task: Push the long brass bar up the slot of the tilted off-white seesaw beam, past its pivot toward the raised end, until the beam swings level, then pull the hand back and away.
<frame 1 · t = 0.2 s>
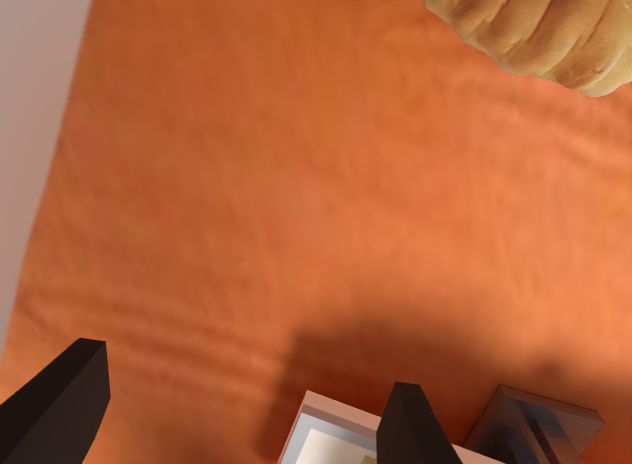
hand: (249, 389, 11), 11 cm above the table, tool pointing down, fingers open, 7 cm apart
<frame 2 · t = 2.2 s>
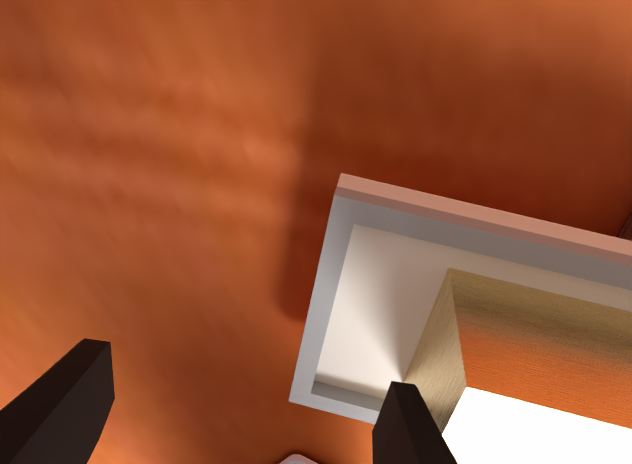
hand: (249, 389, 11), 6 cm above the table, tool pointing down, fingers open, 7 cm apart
brass bar: (542, 360, 14), point 4 cm above the table, tilted 9°, touching beam, gripper
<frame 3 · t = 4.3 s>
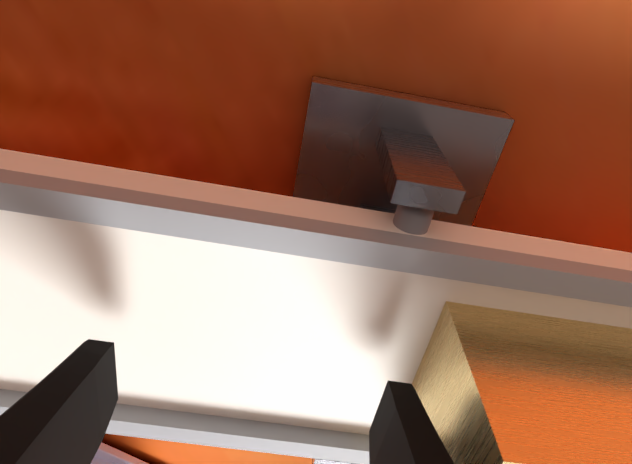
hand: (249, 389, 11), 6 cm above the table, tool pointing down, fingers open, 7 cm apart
beam: (371, 352, 13), point 4 cm above the table, hinge at 0.4°, touching brass bar
brass bar: (541, 383, 14), point 4 cm above the table, touching beam, gripper
beam stand: (362, 267, 17), on the table
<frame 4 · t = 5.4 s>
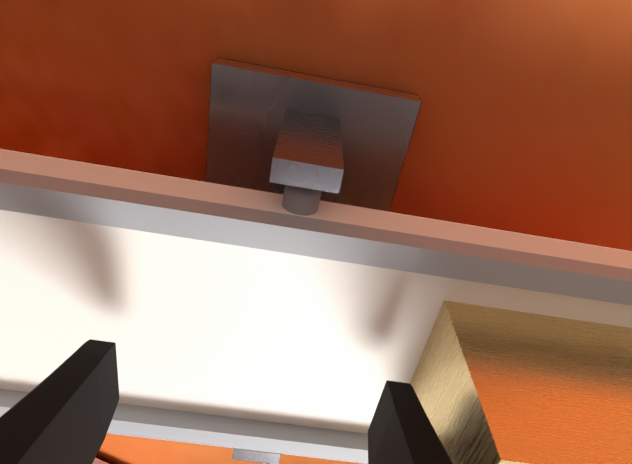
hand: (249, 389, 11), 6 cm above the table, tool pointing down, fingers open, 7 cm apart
beam: (277, 338, 13), point 4 cm above the table, hinge at 0.4°, touching brass bar
brass bar: (539, 382, 14), point 4 cm above the table, touching beam, gripper
beam stand: (288, 255, 17), on the table
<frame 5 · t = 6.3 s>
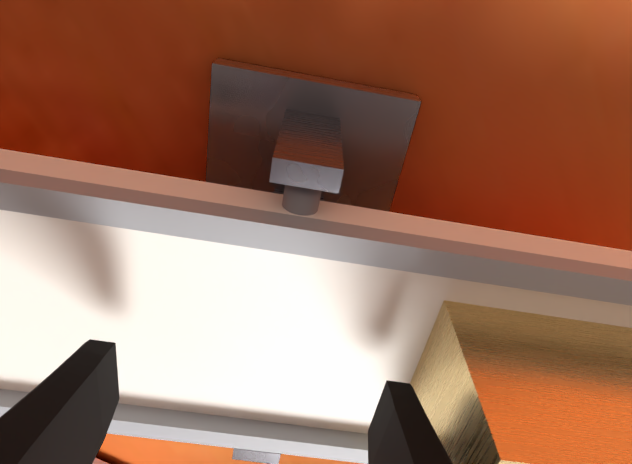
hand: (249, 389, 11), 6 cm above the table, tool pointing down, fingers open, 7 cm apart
beam: (277, 338, 13), point 4 cm above the table, hinge at 0.4°, touching brass bar
brass bar: (539, 382, 14), point 4 cm above the table, touching beam, gripper
beam stand: (287, 255, 17), on the table
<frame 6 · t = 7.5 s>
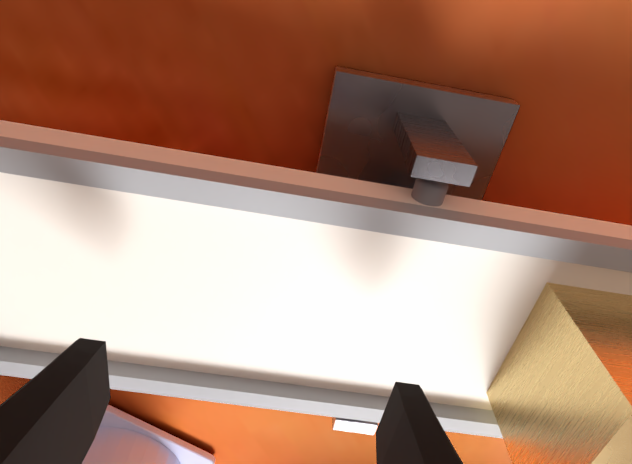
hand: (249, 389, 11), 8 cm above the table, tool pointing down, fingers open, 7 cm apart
beam: (390, 317, 15), point 4 cm above the table, hinge at 0.4°, touching brass bar
brass bar: (622, 357, 15), point 4 cm above the table, touching beam
beam stand: (377, 245, 18), on the table
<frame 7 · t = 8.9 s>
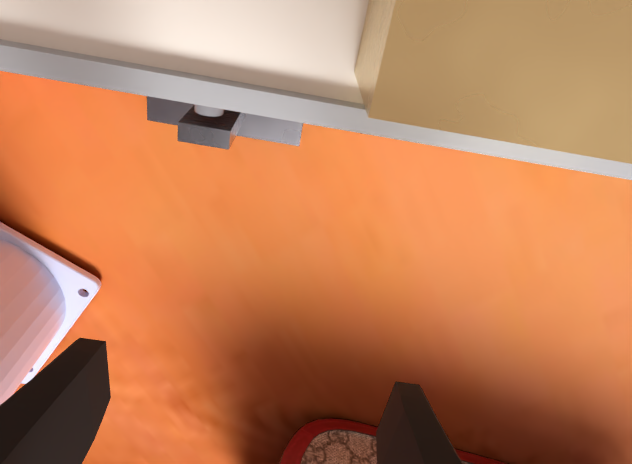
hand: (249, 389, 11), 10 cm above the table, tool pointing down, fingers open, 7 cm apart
brass bar: (512, 1, 12), point 4 cm above the table, touching beam
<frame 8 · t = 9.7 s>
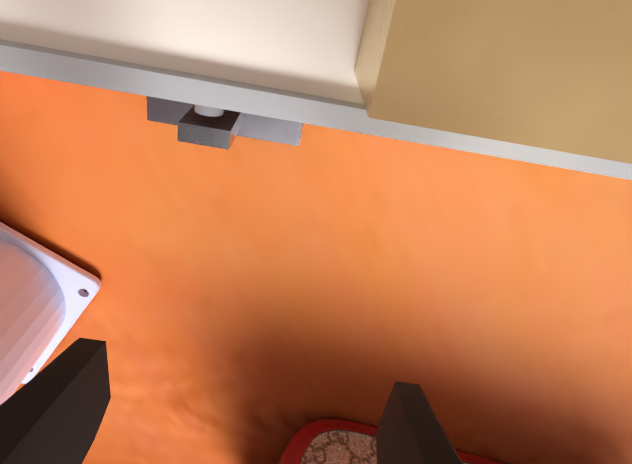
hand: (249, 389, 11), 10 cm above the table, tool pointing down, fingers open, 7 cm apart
brass bar: (512, 1, 12), point 4 cm above the table, touching beam
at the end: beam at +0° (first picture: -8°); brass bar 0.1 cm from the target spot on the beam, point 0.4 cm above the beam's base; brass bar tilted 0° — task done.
